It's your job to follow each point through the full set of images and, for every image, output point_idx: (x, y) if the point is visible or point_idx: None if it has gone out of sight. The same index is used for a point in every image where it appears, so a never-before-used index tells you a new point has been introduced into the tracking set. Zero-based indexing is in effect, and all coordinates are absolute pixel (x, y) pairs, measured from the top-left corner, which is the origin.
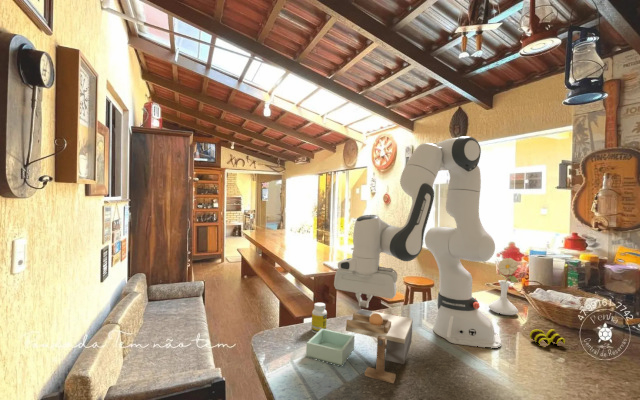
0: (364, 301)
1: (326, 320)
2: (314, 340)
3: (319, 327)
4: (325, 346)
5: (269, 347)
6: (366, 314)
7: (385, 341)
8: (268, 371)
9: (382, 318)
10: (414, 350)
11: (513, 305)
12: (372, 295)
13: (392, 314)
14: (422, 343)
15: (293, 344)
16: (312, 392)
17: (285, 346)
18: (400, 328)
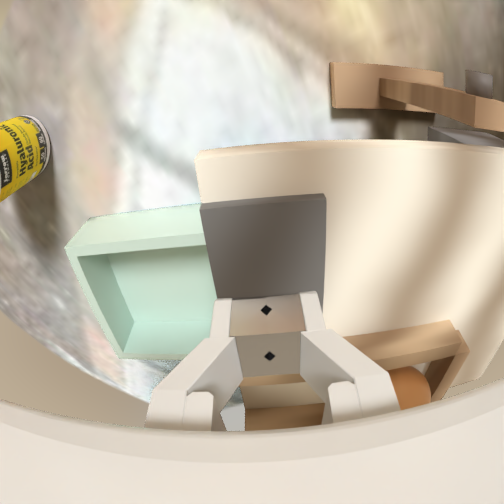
0: (277, 355)
1: (16, 141)
2: (112, 319)
3: (29, 180)
4: (180, 356)
5: (36, 321)
6: (302, 289)
7: (352, 76)
8: (122, 386)
9: (430, 401)
10: (463, 82)
11: None
12: (393, 388)
13: (481, 125)
14: (476, 11)
15: (52, 283)
16: (240, 400)
17: (50, 301)
18: (494, 319)
